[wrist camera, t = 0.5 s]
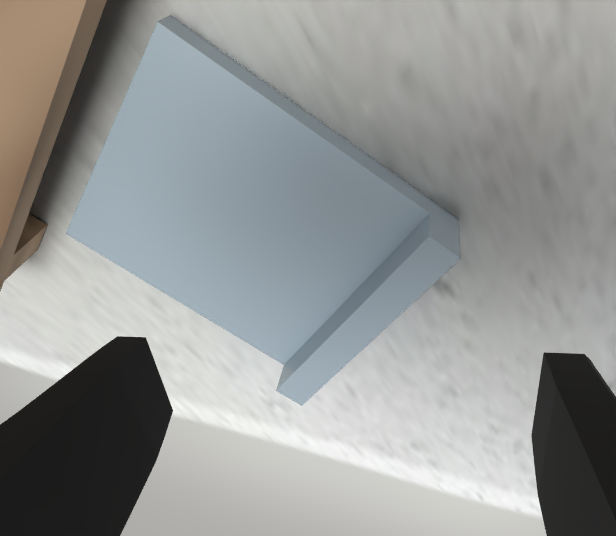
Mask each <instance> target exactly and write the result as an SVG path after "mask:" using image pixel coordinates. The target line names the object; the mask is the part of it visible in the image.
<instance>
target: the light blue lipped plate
mask: <svg viewBox="0 0 616 536" xmlns="http://www.w3.org/2000/svg"><path fill="white" fill-rule="evenodd" d="M66 234H67V235H69V236H71V237H72V238H74V239H76V240H77V241H79V242H81V243H82V244H84V245H86V246H87V247H89V248H91V249H92V250H94V251H96V252H97V253H99V254H101V255H102V256H104V257H106V258H107V259H109V260H111V261H112V262H114V263H116V264H117V265H119V266H121V267H122V268H124V269H126V270H127V271H129V272H130V273H132V274H134V275H135V276H137V277H139V278H140V279H142V280H144V281H145V282H147V283H149V284H150V285H152V286H154V287H155V288H157V289H159V290H160V291H162V292H164V293H165V294H167V295H169V296H170V297H172V298H174V299H175V300H177V301H179V302H180V303H182V304H184V305H185V306H187V307H189V308H190V309H192V310H194V311H195V312H197V313H199V314H200V315H202V316H204V317H205V318H207V319H209V320H210V321H212V322H214V323H215V324H217V325H219V326H220V327H222V328H224V329H225V330H227V331H229V332H230V333H232V334H233V335H235V336H237V337H238V338H240V339H242V340H243V341H245V342H247V343H248V344H250V345H252V346H253V347H255V348H257V349H258V350H260V351H262V352H263V353H265V354H267V355H268V356H270V357H272V358H273V359H275V360H277V361H278V362H280V363H282V364H283V365H284V367H283V370H282V373H281V377H280V380H279V383H278V386H277V389H276V391H278V392H280V393H281V394H283V395H285V396H286V397H288V398H290V399H291V400H293V401H295V402H296V403H298V404H300V405H303V404H304V403H305V402H306V401H307V400H309V399H310V398H311V397H312V396H313V395H314V394H315V393H316V392H317V391H318V390H319V389H320V388H321V387H323V386H324V385H325V384H326V383H327V382H328V381H329V380H330V379H331V378H332V377H333V376H334V375H336V374H337V373H338V372H339V371H340V370H341V369H342V368H343V367H344V366H345V365H346V364H347V363H348V362H350V361H351V360H352V359H353V358H354V357H355V356H356V355H357V354H358V353H359V352H360V351H361V350H363V349H364V348H365V347H366V346H367V345H368V344H369V343H370V342H371V341H372V340H373V339H374V338H375V337H377V336H378V335H379V334H380V333H381V332H382V331H383V330H384V329H385V328H386V327H387V326H388V325H389V324H391V323H392V322H393V321H394V320H395V319H396V318H397V317H398V316H399V315H400V314H401V313H402V312H404V311H405V310H406V309H407V308H408V307H409V306H410V305H411V304H412V303H413V302H414V301H415V300H416V299H418V298H419V297H420V296H421V295H422V294H423V293H424V292H425V291H426V290H427V289H428V288H429V287H431V286H432V285H433V284H434V283H435V282H436V281H437V280H438V279H439V278H440V277H441V276H442V275H443V274H445V273H446V272H447V271H448V270H449V269H450V268H451V267H452V266H453V265H454V264H455V263H456V262H457V261H459V260H460V259H461V253H460V238H459V223H458V219H457V218H456V217H454V216H453V215H451V214H450V213H449V212H447V211H446V210H444V209H443V208H441V207H440V206H439V205H437V204H436V203H434V202H433V201H432V200H430V199H429V198H427V197H426V196H425V195H423V194H422V193H420V192H419V191H418V190H416V189H415V188H413V187H412V186H410V185H409V184H408V183H406V182H405V181H403V180H402V179H401V178H399V177H398V176H396V175H395V174H394V173H392V172H391V171H389V170H388V169H387V168H385V167H384V166H382V165H381V164H379V163H378V162H377V161H375V160H374V159H372V158H371V157H370V156H368V155H367V154H365V153H364V152H363V151H361V150H360V149H358V148H357V147H356V146H354V145H353V144H351V143H350V142H348V141H347V140H346V139H344V138H343V137H341V136H340V135H339V134H337V133H336V132H334V131H333V130H332V129H330V128H329V127H327V126H326V125H325V124H323V123H322V122H320V121H319V120H317V119H316V118H315V117H313V116H312V115H310V114H309V113H308V112H306V111H305V110H303V109H302V108H301V107H299V106H298V105H296V104H295V103H293V102H292V101H291V100H289V99H288V98H286V97H285V96H284V95H282V94H281V93H279V92H278V91H277V90H275V89H274V88H272V87H271V86H270V85H268V84H267V83H265V82H264V81H262V80H261V79H260V78H258V77H257V76H255V75H254V74H253V73H251V72H250V71H248V70H247V69H246V68H244V67H243V66H241V65H240V64H239V63H237V62H236V61H234V60H233V59H231V58H230V57H229V56H227V55H226V54H224V53H223V52H222V51H220V50H219V49H217V48H216V47H215V46H213V45H212V44H210V43H209V42H208V41H206V40H205V39H203V38H202V37H200V36H199V35H198V34H196V33H195V32H193V31H192V30H191V29H189V28H188V27H186V26H185V25H184V24H182V23H181V22H179V21H178V20H177V19H175V18H174V17H172V16H171V15H170V16H168V17H166V18H164V19H162V20H160V21H158V22H157V25H156V27H155V29H154V31H153V34H152V36H151V38H150V41H149V43H148V45H147V48H146V50H145V52H144V54H143V57H142V59H141V61H140V64H139V66H138V68H137V71H136V73H135V75H134V77H133V80H132V82H131V84H130V87H129V89H128V91H127V94H126V96H125V98H124V101H123V103H122V105H121V107H120V110H119V112H118V114H117V117H116V119H115V121H114V124H113V126H112V128H111V130H110V133H109V135H108V137H107V140H106V142H105V144H104V147H103V149H102V151H101V153H100V156H99V158H98V160H97V163H96V165H95V167H94V170H93V172H92V174H91V176H90V179H89V181H88V183H87V186H86V188H85V190H84V193H83V195H82V197H81V200H80V202H79V204H78V206H77V209H76V211H75V213H74V216H73V218H72V220H71V223H70V225H69V227H68V229H67V232H66Z"/></svg>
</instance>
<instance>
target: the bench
mask: <svg viewBox="0 0 616 536" xmlns="http://www.w3.org/2000/svg"><path fill="white" fill-rule="evenodd" d="M106 2H107V0H0V291H1V288H2V285H3V283H4V281H5V280H6V279H7V278H8V277H9V276H10V275H11V274H12V273H13V272H14V271H15V270H16V269H17V268H18V267H20V266H21V265H22V264H23V263H24V262H25V261H26V260H27V259H28V258H29V257H30V256H31V255H32V254H33V253H34V252H36V251H37V250H38V247H39V245H40V242H41V240H42V237H43V235H44V232H45V230H46V227H47V224H45V223H44V222H42V221H40V220H39V219H37V218H35V217H34V216H32V215H30V214H29V212H30V209H31V206H32V204H33V201H34V198H35V195H36V193H37V190H38V187H39V184H40V182H41V179H42V176H43V174H44V171H45V168H46V165H47V163H48V160H49V157H50V154H51V152H52V149H53V146H54V144H55V141H56V138H57V135H58V133H59V130H60V127H61V124H62V122H63V119H64V116H65V114H66V111H67V108H68V105H69V103H70V100H71V97H72V94H73V92H74V89H75V86H76V84H77V81H78V78H79V75H80V73H81V70H82V67H83V64H84V62H85V59H86V56H87V54H88V51H89V48H90V45H91V43H92V40H93V37H94V34H95V32H96V29H97V26H98V24H99V21H100V18H101V15H102V13H103V10H104V7H105V4H106Z"/></svg>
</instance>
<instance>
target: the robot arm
mask: <svg viewBox="0 0 616 536" xmlns="http://www.w3.org/2000/svg"><path fill="white" fill-rule="evenodd" d="M172 412H173V409H172V407H171V404H170V401H169V399H168V396H167V393H166V391H165V388H164V385H163V383H162V380H161V377H160V375H159V372H158V369H157V367H156V364H155V361H154V358H153V356H152V353H151V350H150V348H149V345H148V342H147V340H146V338H145V337H116V338H115V339H113V340H112V341H110V342H109V343H107V344H106V345H105V346H103V347H102V348H101V349H99V350H98V351H97V352H95V353H94V354H93V355H91V356H90V357H89V358H87V359H86V360H85V361H83V362H82V363H81V364H80V365H78V366H77V367H76V368H74V369H73V370H72V371H71V372H69V373H68V374H67V375H65V376H64V377H63V378H62V379H60V380H59V381H58V382H56V383H55V384H54V385H52V386H51V387H50V388H49V389H47V390H46V391H45V392H43V393H42V394H41V395H39V396H38V397H37V398H36V399H35V400H33V401H32V402H30V403H29V404H28V405H26V406H25V407H24V408H23V409H21V410H20V411H19V412H17V413H16V414H15V415H13V416H12V417H10V418H9V419H8V420H7V421H5V422H4V423H2V424H1V425H0V536H120V534H121V533H122V530H123V528H124V526H125V524H126V522H127V520H128V518H129V516H130V514H131V512H132V510H133V508H134V506H135V504H136V502H137V500H138V498H139V495H140V493H141V491H142V489H143V487H144V485H145V483H146V481H147V479H148V477H149V475H150V473H151V471H152V468H153V466H154V464H155V462H156V460H157V457H158V454H159V451H160V448H161V446H162V443H163V440H164V437H165V434H166V431H167V428H168V424H169V421H170V418H171V415H172ZM532 445H533V455H534V464H535V474H536V482H537V491H538V497H539V502H540V507H541V511H542V516H543V520H544V525H545V529H546V534H547V536H616V396H615V395H614V394H613V392H612V391H611V389H610V388H609V386H608V385H607V384H606V382H605V381H604V379H603V378H602V376H601V375H600V373H599V372H598V371H597V369H596V368H595V366H594V365H593V363H592V362H591V360H590V359H589V358H588V357H587V356H586V355H585V354H568V353H544V354H543V361H542V368H541V375H540V382H539V388H538V395H537V402H536V409H535V416H534V422H533V429H532Z"/></svg>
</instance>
